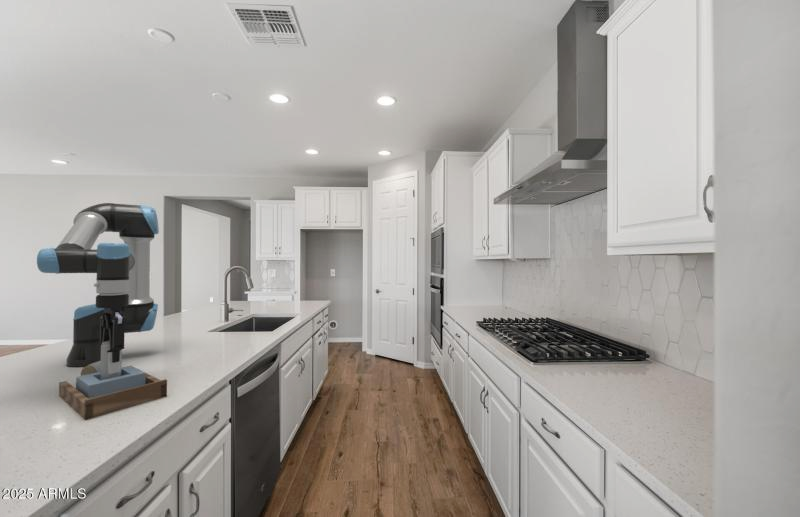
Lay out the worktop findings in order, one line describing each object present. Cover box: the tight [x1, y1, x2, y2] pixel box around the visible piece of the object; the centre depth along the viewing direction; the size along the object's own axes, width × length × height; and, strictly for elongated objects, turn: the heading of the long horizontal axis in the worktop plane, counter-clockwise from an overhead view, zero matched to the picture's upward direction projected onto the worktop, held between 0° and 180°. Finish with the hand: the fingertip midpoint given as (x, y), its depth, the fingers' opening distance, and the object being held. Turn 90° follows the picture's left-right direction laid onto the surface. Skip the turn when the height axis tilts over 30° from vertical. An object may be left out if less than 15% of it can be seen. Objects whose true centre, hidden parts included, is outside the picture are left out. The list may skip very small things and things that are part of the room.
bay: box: [58, 372, 168, 421], centre depth 98 cm, size 26×18×6 cm
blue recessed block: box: [75, 365, 147, 399], centre depth 99 cm, size 12×13×6 cm
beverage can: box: [100, 341, 123, 381], centre depth 99 cm, size 5×5×12 cm
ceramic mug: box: [80, 361, 101, 376], centre depth 111 cm, size 11×8×8 cm
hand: (111, 370), depth 99 cm, fingers closed on beverage can, 5 cm apart
